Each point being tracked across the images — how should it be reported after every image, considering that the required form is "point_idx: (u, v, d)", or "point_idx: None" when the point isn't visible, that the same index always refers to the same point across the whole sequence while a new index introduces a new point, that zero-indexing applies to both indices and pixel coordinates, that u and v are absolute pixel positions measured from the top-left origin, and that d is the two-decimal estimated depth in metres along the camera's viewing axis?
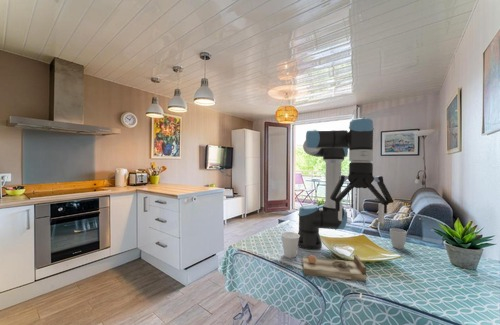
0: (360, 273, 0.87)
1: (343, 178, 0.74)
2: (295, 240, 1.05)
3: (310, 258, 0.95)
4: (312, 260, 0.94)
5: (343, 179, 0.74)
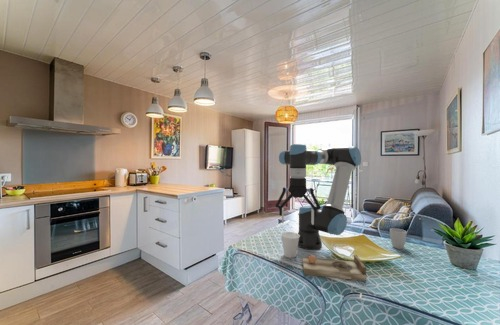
0: (360, 273, 0.87)
1: (284, 190, 0.96)
2: (295, 240, 1.05)
3: (310, 258, 0.95)
4: (312, 260, 0.94)
5: (284, 191, 0.96)
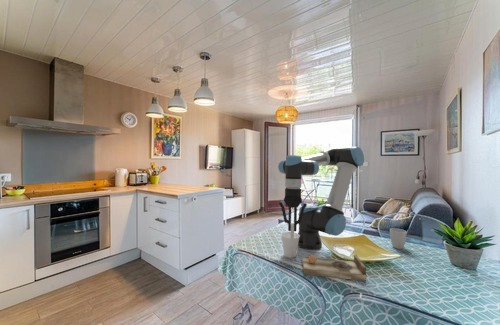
0: (360, 273, 0.87)
1: (281, 204, 0.98)
2: (295, 240, 1.05)
3: (310, 258, 0.95)
4: (312, 260, 0.94)
5: (282, 204, 0.97)
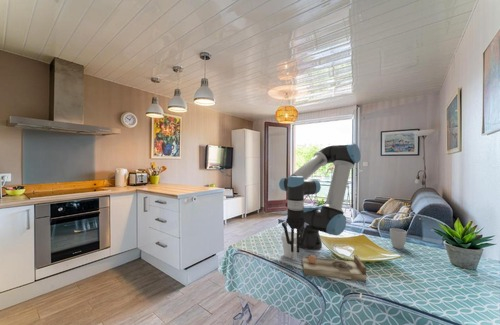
0: (360, 273, 0.87)
1: (284, 225, 0.97)
2: (295, 240, 1.05)
3: (310, 258, 0.95)
4: (312, 260, 0.94)
5: (284, 226, 0.97)
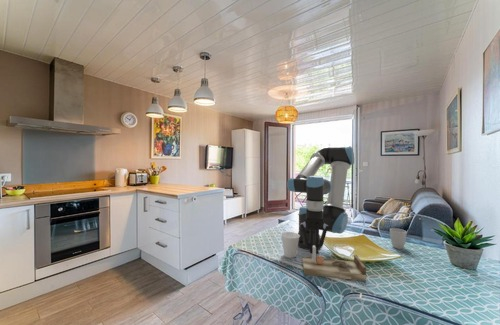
0: (360, 273, 0.87)
1: (302, 226, 0.96)
2: (295, 240, 1.05)
3: (321, 259, 0.94)
4: (320, 261, 0.93)
5: (303, 226, 0.96)
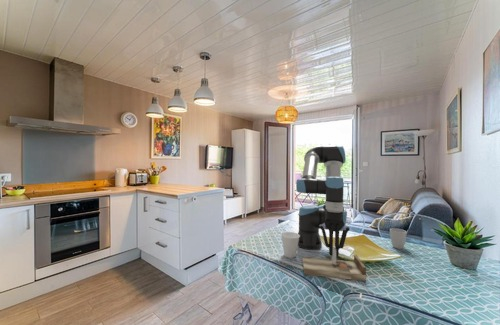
0: (360, 273, 0.87)
1: (322, 227, 0.94)
2: (295, 240, 1.05)
3: (345, 268, 0.92)
4: None
5: (323, 228, 0.94)
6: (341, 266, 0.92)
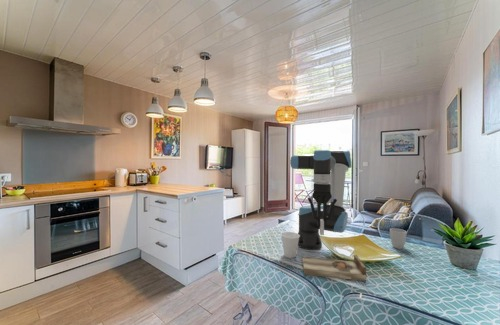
0: (360, 273, 0.87)
1: (310, 200, 0.95)
2: (295, 240, 1.05)
3: (342, 266, 0.92)
4: None
5: (310, 200, 0.95)
6: (338, 266, 0.93)
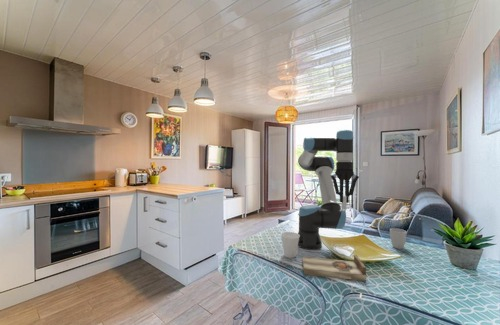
0: (360, 273, 0.87)
1: (333, 177, 1.02)
2: (295, 240, 1.05)
3: (343, 266, 0.92)
4: None
5: (334, 177, 1.02)
6: (339, 266, 0.93)
